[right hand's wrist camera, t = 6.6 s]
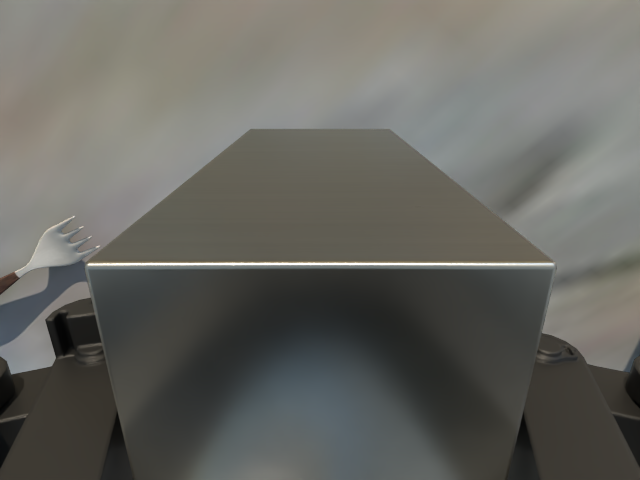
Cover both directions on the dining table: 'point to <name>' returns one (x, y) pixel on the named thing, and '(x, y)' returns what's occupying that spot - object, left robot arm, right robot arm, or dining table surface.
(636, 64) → the dining table surface
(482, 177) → the dining table surface
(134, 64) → the dining table surface
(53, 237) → the fork
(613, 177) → the dining table surface
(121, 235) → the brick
